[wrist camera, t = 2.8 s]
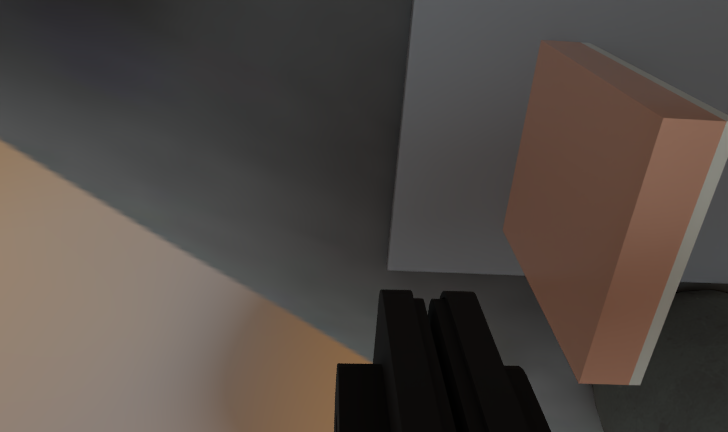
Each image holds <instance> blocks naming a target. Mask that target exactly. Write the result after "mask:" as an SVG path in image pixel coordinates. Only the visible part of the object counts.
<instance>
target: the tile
mask: <svg viewBox="0 0 728 432" xmlns="http://www.w3.org/2000/svg"><path fill="white" fill-rule="evenodd" d="M727 158H728V115H727V114H725V113H723V112H721V111H719V110H717V109H715V108H713V107H711V106H709V105H707V104H706V103H704V102H702V101H700V100H698V99H696V98H694V97H692V96H690V95H688V94H686V93H685V92H683V91H681V90H679V89H677V88H675V87H673V86H671V85H669V84H667V83H665V82H664V81H662V80H660V79H658V78H656V77H654V76H652V75H650V74H648V73H646V72H644V71H642V70H641V69H639V68H637V67H635V66H633V65H631V64H629V63H627V62H625V61H623V60H621V59H620V58H618V57H616V56H614V55H612V54H610V53H608V52H606V51H604V50H602V49H600V48H599V47H597V46H595V45H593V44H591V43H583V42H567V41H551V40H541V43H540V47H539V52H538V57H537V62H536V67H535V72H534V77H533V82H532V87H531V92H530V97H529V102H528V107H527V112H526V117H525V122H524V127H523V132H522V137H521V141H520V146H519V151H518V156H517V161H516V166H515V171H514V176H513V181H512V186H511V191H510V196H509V201H508V206H507V211H506V216H505V221H504V226H503V232H504V234H505V236H506V238H507V240H508V242H509V244H510V246H511V248H512V250H513V252H514V254H515V256H516V258H517V260H518V262H519V264H520V266H521V268H522V270H523V272H524V274H525V276H526V278H527V280H528V282H529V284H530V286H531V288H532V290H533V292H534V294H535V296H536V298H537V300H538V302H539V304H540V306H541V308H542V310H543V312H544V314H545V316H546V318H547V320H548V322H549V324H550V326H551V328H552V330H553V332H554V335H555V337H556V339H557V341H558V343H559V345H560V347H561V349H562V351H563V353H564V355H565V357H566V359H567V361H568V363H569V365H570V367H571V369H572V371H573V373H574V375H575V377H576V379H577V381H578V383H579V384H612V385H640V384H641V382H642V379H643V376H644V374H645V371H646V369H647V366H648V363H649V361H650V358H651V356H652V353H653V350H654V348H655V345H656V343H657V340H658V337H659V335H660V332H661V330H662V327H663V324H664V322H665V319H666V317H667V314H668V311H669V309H670V306H671V304H672V301H673V299H674V296H675V293H676V291H677V288H678V286H679V283H680V280H681V278H682V275H683V273H684V270H685V267H686V265H687V262H688V260H689V257H690V254H691V252H692V249H693V247H694V244H695V241H696V239H697V236H698V234H699V231H700V228H701V226H702V223H703V221H704V218H705V215H706V213H707V210H708V208H709V205H710V202H711V200H712V197H713V195H714V192H715V189H716V187H717V184H718V182H719V179H720V176H721V174H722V171H723V169H724V166H725V163H726V161H727Z"/></svg>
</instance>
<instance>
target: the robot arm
mask: <svg viewBox="0 0 728 432" xmlns="http://www.w3.org/2000/svg"><path fill="white" fill-rule="evenodd" d="M334 419H335V420H334V432H551V430H550V428H549V426H548V423H547V421H546V419H545V417H544V414H543V412H542V410H541V407H540V405H539V403H538V400H537V398H536V396H535V394H534V391H533V389H532V387H531V384H530V382H529V380H528V378H527V375H526V374H525V372H524V370H523V369H522V368H521V367H519V366H504V365H503V362H502V360H501V357H500V355H499V352H498V350H497V347H496V345H495V342H494V340H493V337H492V335H491V332H490V329H489V327H488V324H487V322H486V319H485V317H484V314H483V312H482V309H481V307H480V304H479V302H478V299H477V296H476V295H475V293H474V292H464V291H443V292H442V293H441V296H440V299H431V301H430V304H429V310H428V315H427V311H426V307H425V303H424V300H423V299H419V298H413V294H412V291H411V290H380V294H379V303H378V314H377V325H376V336H375V347H374V358H373V364H340V363H339V364H337V374H336V392H335V418H334Z"/></svg>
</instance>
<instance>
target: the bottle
mask: <svg viewBox="0 0 728 432" xmlns="http://www.w3.org/2000/svg"><path fill="white" fill-rule="evenodd" d="M593 391H594V398H595V404H596V408H597V411H598V414H599V418H600V421H601V424H602V427H603V430H604V432H728V293H725V292H720V291H716V290H700V291H683V292H679V293H676V294H675V296H674V299H673V301H672V304H671V306H670V309H669V311H668V314H667V317H666V319H665V322H664V324H663V327H662V330H661V332H660V335H659V337H658V340H657V343H656V345H655V348H654V350H653V353H652V356H651V358H650V361H649V363H648V366H647V369H646V371H645V374H644V376H643V379H642V382H641V384H640V385H612V384H593Z"/></svg>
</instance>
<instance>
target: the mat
mask: <svg viewBox="0 0 728 432" xmlns="http://www.w3.org/2000/svg"><path fill="white" fill-rule="evenodd" d="M541 40H551V41H567V42H583V43H591V44H593V45H595V46H597V47H599V48H600V49H602V50H604V51H606V52H608V53H610V54H612V55H614V56H616V57H618V58H620V59H621V60H623V61H625V62H627V63H629V64H631V65H633V66H635V67H637V68H639V69H641V70H642V71H644V72H646V73H648V74H650V75H652V76H654V77H656V78H658V79H660V80H662V81H664V82H665V83H667V84H669V85H671V86H673V87H675V88H677V89H679V90H681V91H683V92H685V93H686V94H688V95H690V96H692V97H694V98H696V99H698V100H700V101H702V102H704V103H706V104H707V105H709V106H711V107H713V108H715V109H717V110H719V111H721V112H723V113H725V114H727V115H728V0H412V10H411V20H410V30H409V40H408V50H407V61H406V71H405V81H404V91H403V102H402V112H401V122H400V132H399V143H398V153H397V163H396V173H395V184H394V194H393V204H392V214H391V224H390V235H389V245H388V255H387V270H392V271H418V272H444V273H469V274H495V275H521V276H525V274H524V272H523V270H522V268H521V266H520V264H519V262H518V260H517V258H516V256H515V254H514V252H513V250H512V248H511V246H510V244H509V242H508V240H507V238H506V236H505V234H504V232H503V226H504V221H505V216H506V211H507V206H508V201H509V196H510V191H511V186H512V181H513V176H514V171H515V166H516V161H517V156H518V151H519V146H520V141H521V137H522V132H523V127H524V122H525V117H526V112H527V107H528V102H529V97H530V92H531V87H532V82H533V77H534V72H535V67H536V62H537V57H538V52H539V47H540V43H541ZM680 282H700V283H726V284H728V158H727V161H726V163H725V166H724V169H723V171H722V174H721V176H720V179H719V182H718V184H717V187H716V189H715V192H714V195H713V197H712V200H711V202H710V205H709V208H708V210H707V213H706V215H705V218H704V221H703V223H702V226H701V228H700V231H699V234H698V236H697V239H696V241H695V244H694V247H693V249H692V252H691V254H690V257H689V260H688V262H687V265H686V267H685V270H684V273H683V275H682V278H681V280H680Z"/></svg>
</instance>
